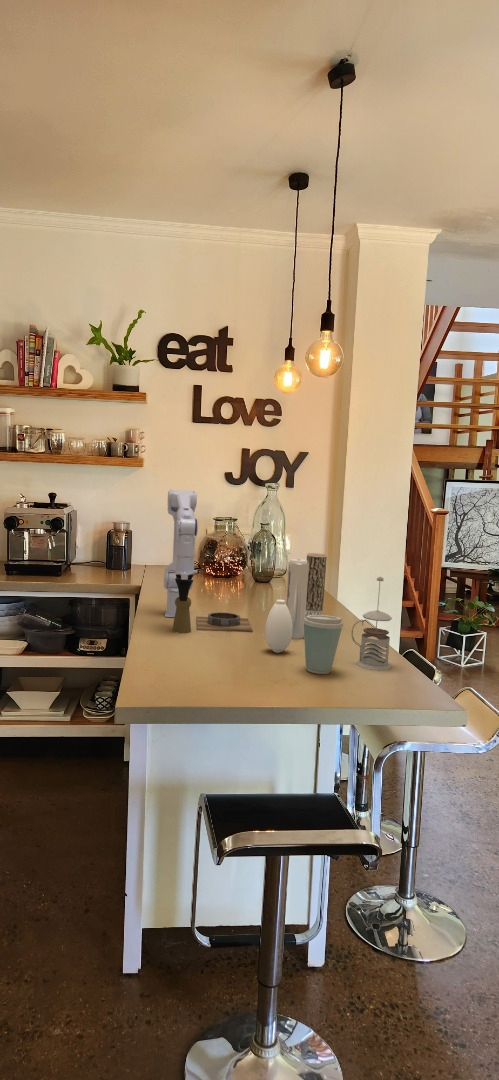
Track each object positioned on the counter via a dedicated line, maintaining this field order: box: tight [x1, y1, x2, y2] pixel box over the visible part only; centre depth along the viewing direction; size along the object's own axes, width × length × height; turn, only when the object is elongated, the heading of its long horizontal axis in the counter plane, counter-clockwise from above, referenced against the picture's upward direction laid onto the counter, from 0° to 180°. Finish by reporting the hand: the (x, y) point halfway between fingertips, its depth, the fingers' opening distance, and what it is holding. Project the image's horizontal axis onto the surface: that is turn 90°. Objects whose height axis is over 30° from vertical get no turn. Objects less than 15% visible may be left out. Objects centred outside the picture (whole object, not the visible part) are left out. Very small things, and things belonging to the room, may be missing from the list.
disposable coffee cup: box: [303, 614, 344, 675], centre depth 182 cm, size 11×11×15 cm
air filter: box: [285, 558, 309, 640], centre depth 219 cm, size 6×6×25 cm
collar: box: [207, 611, 241, 627], centre depth 231 cm, size 11×11×2 cm
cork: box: [171, 597, 192, 634], centre depth 218 cm, size 6×6×11 cm
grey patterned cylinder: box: [305, 552, 328, 617], centre depth 237 cm, size 7×7×25 cm
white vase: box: [264, 591, 292, 654], centre depth 199 cm, size 8×8×18 cm
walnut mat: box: [196, 615, 253, 633], centre depth 231 cm, size 18×18×1 cm
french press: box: [351, 576, 393, 671], centre depth 191 cm, size 10×12×25 cm
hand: (183, 598), depth 218 cm, fingers open, 7 cm apart
